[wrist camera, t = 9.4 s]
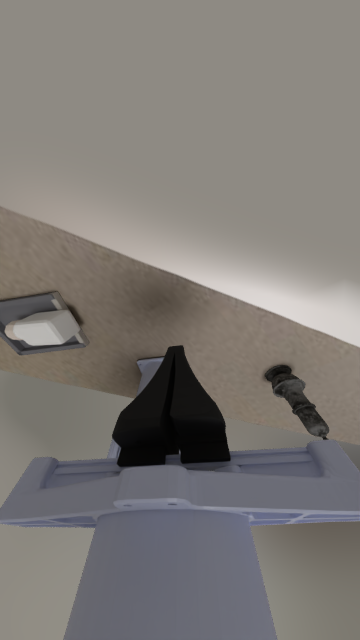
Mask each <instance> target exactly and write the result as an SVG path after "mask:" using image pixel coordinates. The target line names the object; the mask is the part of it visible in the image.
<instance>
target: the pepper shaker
mask: <svg viewBox="0 0 360 640" xmlns="http://www.w3.org/2000/svg"><path fill="white" fill-rule="evenodd" d="M79 331H80V326H79V325H78V323H77V322H76V320H75V319H74V317H73V315H72V314H71V312H70V311H68V310H60V311H51V312H41V313H35V314H33V315H30V316H28V317H26V318H24V319H22V320H16V321H12V322H10V323H9V324H8V325H6V328H5V333H6V335H7V337H9V338H11V339H13V340H24V341H25V342H26V343H28V344H29V345H32V346H35V345H57V344H63V343H65V342H66V341H67V340H69V339H70V338H71V337H72V336H74V335H75V334H76V333H77V332H79Z"/></svg>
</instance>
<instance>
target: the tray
mask: <svg viewBox="0 0 360 640" xmlns="http://www.w3.org/2000/svg"><path fill="white" fill-rule="evenodd" d="M60 310H68V311H70V310H69V309H68V307H67V306H66V304H65V302H64V301H63V299H62V297H61V296H60V294H59V293H58V291H57V292H51V293H45V294H39V295H33V296H26V297H20V298H14V299H8V300H2V301H0V336H1V337H2V338H3V339H4V340H5V341H6V342H7V343H8V344H9V345H10V346H11V347H12V348H13V349H14V350H15V351H16V352H17V353H18V354H19V355H28V354H36V353H43V352H51V351H59V350H67V349H75V348H83V347H86V346H87V345H88V344H89V341H88V339H87V338H86V336H85V335H84V333H83V331H82V330H81V328H80V331H79V332H77V333H76V334H75V335H74V336H72V337H71V338H70V339H69V340H67V341H66V342H65V343H63V344H57V345H35V346H32V345H29V344H28V343H26V342H25V341H24V340H13V339H11V338H9V337H7V335H6V333H5V328H6V325H8V324H9V323H10V322H12V321H16V320H22V319H24V318H26V317H28V316H30V315H33V314H35V313H41V312H51V311H60ZM74 319H75V318H74Z"/></svg>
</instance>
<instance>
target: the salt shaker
mask: <svg viewBox="0 0 360 640" xmlns="http://www.w3.org/2000/svg"><path fill="white" fill-rule="evenodd" d="M265 377H266V379H267V380H268V381H271V382H272V389H273V393H274V395H275V396H277V397H281V398H285V399H286V400H287V401H288V403H289V404H290V406H291V407H292V409H293V410H292V412H293V413H294V414H295V415H298V417H299V418H300V420H301V421H302V423H303V424H304V426H305V428H306V429H307V431H308V432H309V433H310V434H312V435H314V436H318V437H322V438H323V440H329V439H327V438H326V436H327V434H328V433H329V427H328V425H327V424H326V423H325V421H324V420H323V419H322V418H321V416H320V415H319V414H318V412H317V411H316V410H315V408H316V406H315V405H314V404H312V403H310V402H309V400H308V399H307V398H306V397H305V395H304V394H303V392H302V391H303V390H304V388H305V382H304V381H302V380H300V379H299V378H298V377H296V376H294V375H292V374H291V368H290V367H288V366H285V365H280V366H275V367H273V368H271V369H270V370H269V371H267V373H266V375H265Z"/></svg>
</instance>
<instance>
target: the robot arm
mask: <svg viewBox="0 0 360 640" xmlns="http://www.w3.org/2000/svg"><path fill="white" fill-rule="evenodd" d="M137 364H138V366H139V369H140V371H141V373H142V377H141V380H140V384H139V388H138V391H137V395H136V398H135V399H134V400H133V401H132V402H131V403H130V404H129V405H128V406H127V407H126V408H125V409H124V410H123V411H122V412H121V413H120V415H119V417H118V420H117V422H116V425H115V428H114V431H113V434H112V442H111V445H110V449H109V452H108V456H107V459H94V460H93V459H92V460H76V461H58V460H57V459H55V458H52V457H40V458H34V459H33V460H32V461H31V463H30V464H29V466H28V467H27V469H26V470H25V472H24V474H23V475H22V477H21V478H20V480H19V481H18V483H17V484H16V486H15V487H14V489H13V490H12V492H11V493H10V495H9V497H8V498H7V499H6V501H5V502H4V504H3V505H2V507H1V508H0V524H7V525H14V526H21V527H83V528H86V527H87V528H88V527H89V528H95V532H94V535H93V539H92V542H91V546H90V549H89V552H88V556H87V559H86V563H85V566H84V570H83V573H82V577H81V580H80V584H79V587H78V591H77V594H76V597H75V601H74V604H73V608H72V611H71V615H70V618H69V622H68V626H67V629H66V632H65V635H64V639H63V640H277V636H276V632H275V628H274V623H273V619H272V615H271V611H270V607H269V603H268V599H267V594H266V591H265V586H264V582H263V578H262V574H261V570H260V566H259V561H258V558H257V553H256V549H255V545H254V541H253V537H252V533H251V528H250V526H255V525H275V524H294V523H313V522H334V521H335V522H337V521H360V471H359V470H358V469H357V467H356V466H355V465H354V464H353V462H352V461H351V460H350V458H349V457H348V456H347V454H346V453H345V452H344V450H343V449H342V448H341V447H340V445H339V444H338V443H337V441H335V440H318V441H312V442H309V443H308V444H307V447H299V448H281V449H264V450H249V451H230V452H229V448H228V444H227V437H226V433H225V427H226V425H225V421H224V419H223V416H222V414H221V412H220V410H219V408H218V407H217V405H216V403H215V402H214V401H213V400H212V399H211V397H210V396H209V395H208V394H207V392H206V391H205V390H204V389H203V387H202V386H201V384H200V383H199V382H198V380H197V378H196V377H195V375H194V373H193V372H192V370H191V368H190V366H189V364H188V361H187V359H186V356H185V352H184V347H183V346H182V345H180V346H172V347H169V348H168V350H167V352H166V355H165V357H161V358H152V359H144V360H138V361H137Z"/></svg>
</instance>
